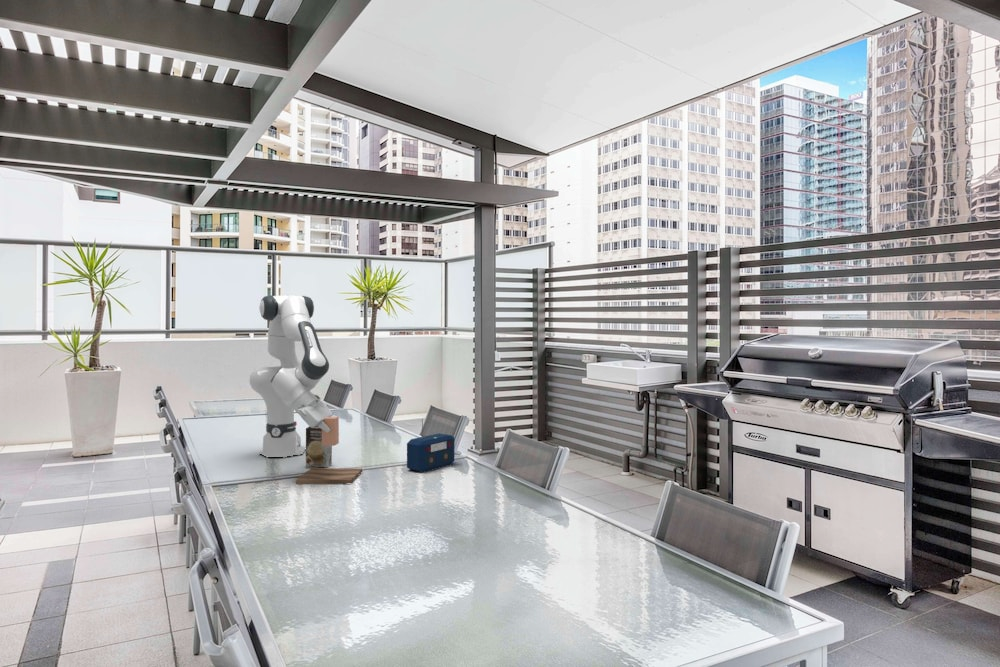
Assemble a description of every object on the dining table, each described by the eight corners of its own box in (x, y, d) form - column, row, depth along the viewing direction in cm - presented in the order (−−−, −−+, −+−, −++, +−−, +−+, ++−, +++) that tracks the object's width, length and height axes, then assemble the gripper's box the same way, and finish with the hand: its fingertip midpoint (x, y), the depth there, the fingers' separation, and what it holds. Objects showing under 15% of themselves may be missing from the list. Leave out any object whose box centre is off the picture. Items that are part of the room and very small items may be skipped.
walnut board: (311, 472, 250) (311, 468, 250) (362, 472, 250) (362, 468, 250) (295, 483, 232) (295, 479, 232) (350, 484, 232) (350, 479, 232)
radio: (421, 473, 247) (421, 422, 247) (405, 470, 253) (405, 420, 252) (457, 464, 264) (456, 415, 264) (441, 461, 269) (441, 413, 269)
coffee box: (304, 467, 257) (304, 428, 257) (311, 464, 264) (310, 425, 263) (326, 468, 256) (326, 428, 256) (332, 464, 263) (332, 425, 262)
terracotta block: (325, 443, 243) (325, 416, 243) (338, 443, 243) (338, 416, 243) (321, 445, 238) (321, 418, 238) (335, 445, 238) (335, 418, 238)
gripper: (302, 401, 230) (330, 428, 230) (319, 395, 250) (344, 420, 250) (290, 413, 230) (317, 440, 230) (308, 406, 250) (333, 431, 250)
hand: (331, 429), depth 240 cm, fingers closed on terracotta block, 5 cm apart
